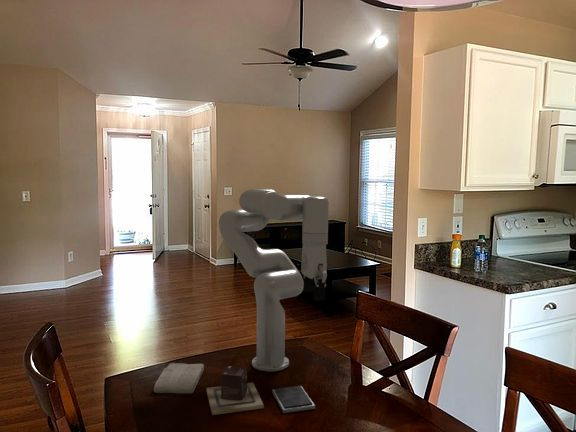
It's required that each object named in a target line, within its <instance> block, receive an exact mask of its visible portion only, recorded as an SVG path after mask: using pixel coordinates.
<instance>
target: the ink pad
mask: <svg viewBox="0 0 576 432" xmlns="http://www.w3.org/2000/svg"><path fill="white" fill-rule="evenodd" d="M271 392H272V395H273V397H274V399H275V401H276V402H277V404H278V406H279V408H280V409H281V412H282V413H283V414H287V413H294V412H295V413H296V412H304V411H309V410H310V411H312V410H315V409H316V404H315V403H314V401H312V399H311V397H309V395H308V393H307V392H306V391H305V389H304V387H303V386H302V385H297V386H287V387H280V388H273V389H272V391H271Z"/></svg>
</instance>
